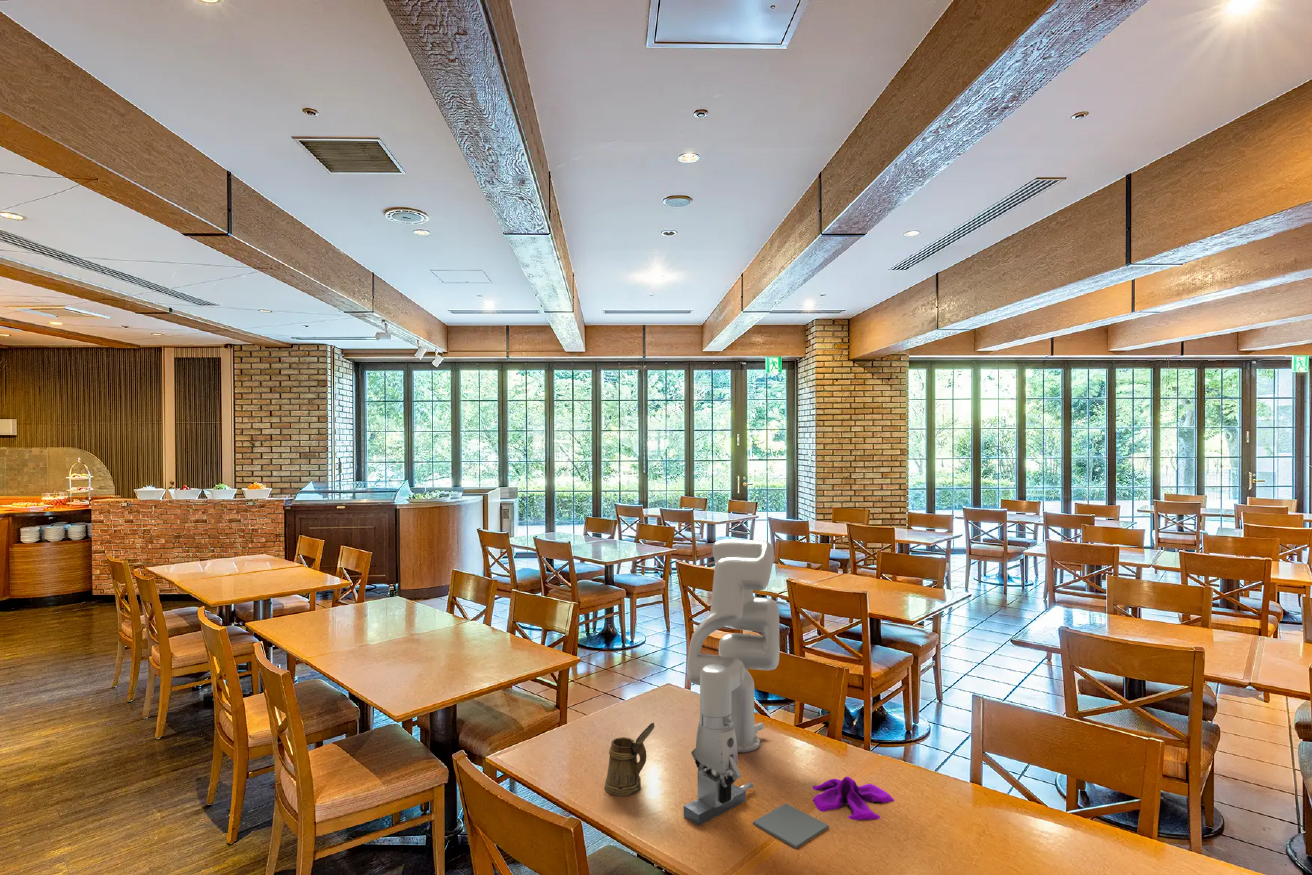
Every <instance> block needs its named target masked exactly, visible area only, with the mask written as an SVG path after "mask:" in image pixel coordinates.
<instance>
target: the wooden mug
mask: <svg viewBox="0 0 1312 875" xmlns="http://www.w3.org/2000/svg"><path fill="white" fill-rule="evenodd" d="M655 727H656V726H655V723H654V722H652V723H650V724H649V725H648V726H647V727H646V728H645V729H644V730H643V731H642V732H641V733H640V734H639V736H638V737H637V738H636V740H635V739H633V738H629V737H625V736H624V737H617V738H614V739H613V740H612V741H611V744H610V747H609V750H608V754H609V759H608V768H607V774H606V779H605V784H604V790H605V791H606V793H608V794H609V795H613V796H621V797H625V796H631V795H633V794H635V793H637V792H638V791H639V790H640V789H641V787H642V780H641V779H642V778H641V776H640V773H641V771H642V770H643V768H644V766H645V765H646V762H647V750H646V746H645V745H644V742H645V740H646V739H647V738H648V737H649V736H650V734H651V733H652V731H653V730H654V729H655ZM637 756H639V761H638V757H637Z"/></svg>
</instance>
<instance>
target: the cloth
mask: <svg viewBox="0 0 1312 875" xmlns="http://www.w3.org/2000/svg"><path fill="white" fill-rule="evenodd" d="M812 789H813V790H815V791H818V792H819V791H820V792H821V791H823V792H821V793H818V794H817V795H815V796H814V797H813V798H812V801H813V804H814V805H815V807H816V808H817V810H818V811H819V812H822V813H825V812H827V811H833V810H838V809H841V808H843V807H847V805H848V806H849V808H850V809H851V814H850V815H849V816H848V817H847V818H848V819H850V820H853V821H862V820H864V821H865V820H866V821H867V820H868V821H869V820H878V819H880V818H881V816H880V815H879V814H877V813H875V812H874V811H872V810H871V809H870V807H869V806H868V805H867V803H866V802H868V803H871V804H874V803H877V802H878V803H892V802H894V801H895V799H894V798H893V797H892V796H891V795H890V794H889V793H888V792H886V791H885V790H884V789H882V788H880V787H878V786H876V785H875V784H872V783H867V784H864V785H860V786H859V785H858V784H857V783H856V781H855V780H854V779H853V778H851V777H850V776H844V777H843V779H838V778H831V779H828V780H825V782H823V783H820V784H819V785H813V786H812Z"/></svg>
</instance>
